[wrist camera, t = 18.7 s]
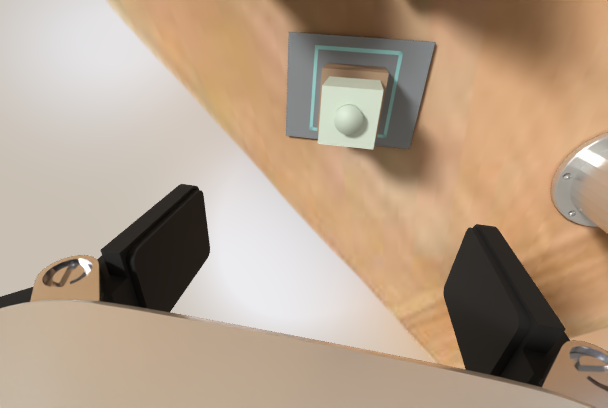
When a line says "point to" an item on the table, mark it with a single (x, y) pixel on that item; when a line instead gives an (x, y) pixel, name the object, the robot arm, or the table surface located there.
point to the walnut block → (354, 72)
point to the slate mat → (357, 51)
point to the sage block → (349, 112)
